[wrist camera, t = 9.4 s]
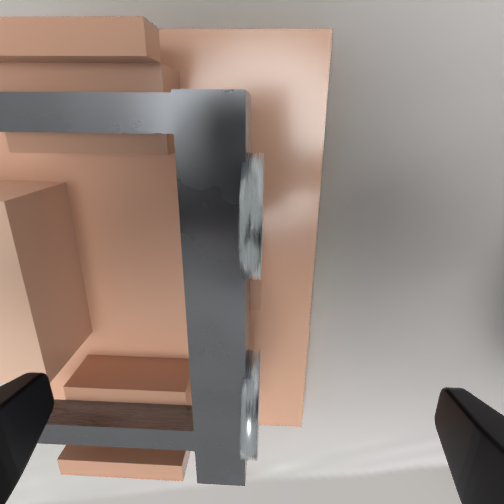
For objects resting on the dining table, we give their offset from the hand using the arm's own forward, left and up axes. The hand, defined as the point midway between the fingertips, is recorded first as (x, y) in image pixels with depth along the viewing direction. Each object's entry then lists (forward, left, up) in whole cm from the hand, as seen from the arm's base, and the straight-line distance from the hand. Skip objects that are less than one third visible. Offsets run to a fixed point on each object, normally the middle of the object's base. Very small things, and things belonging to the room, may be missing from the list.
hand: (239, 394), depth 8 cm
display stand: (+5, +1, -11) cm, 12 cm away
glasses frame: (+5, +1, -7) cm, 9 cm away
